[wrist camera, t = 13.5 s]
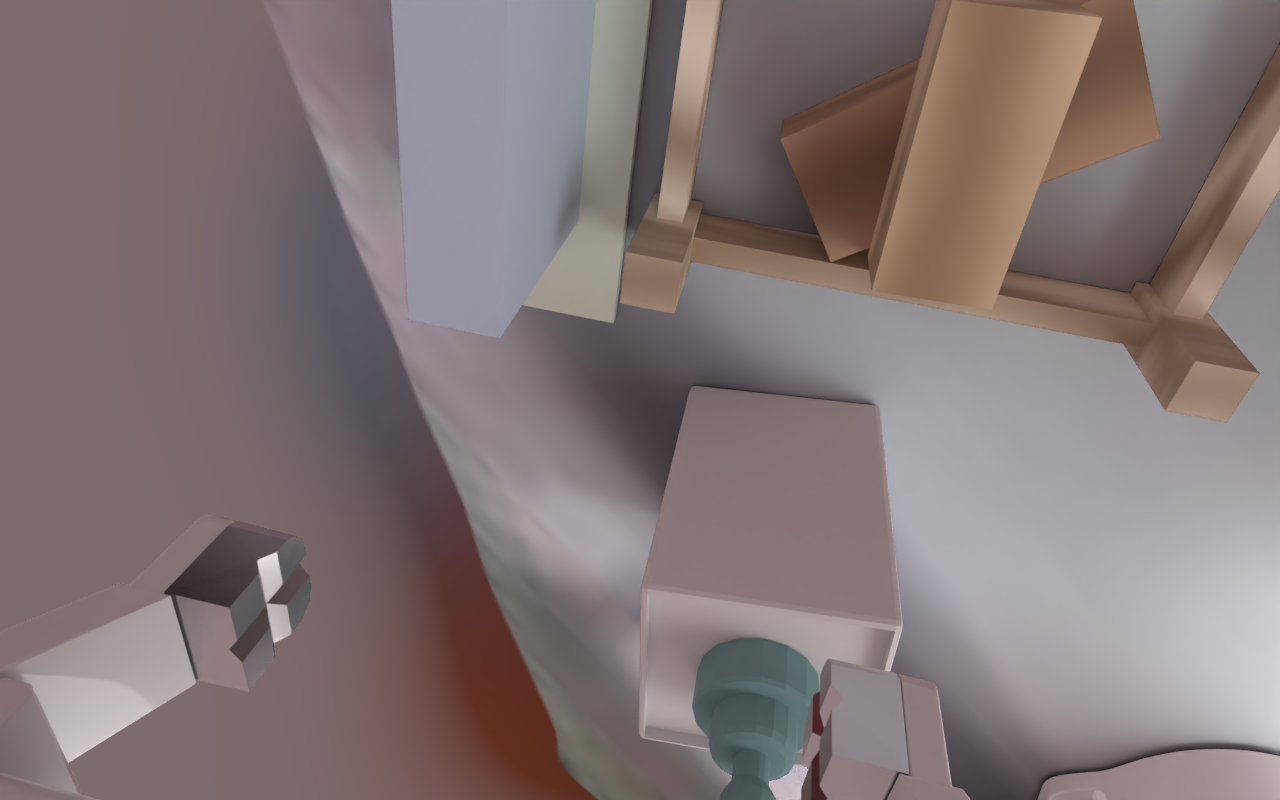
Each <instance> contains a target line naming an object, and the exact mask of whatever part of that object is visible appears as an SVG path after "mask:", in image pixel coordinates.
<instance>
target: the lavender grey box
mask: <svg viewBox="0 0 1280 800" xmlns="http://www.w3.org/2000/svg"><path fill="white" fill-rule="evenodd" d="M595 7H596V0H391V10H392V28H393V47H394V65H395V84H396V103H397V121H398V140H399V159H400V177H401V196H402V215H403V233H404V252H405V270H406V289H407V308H408V320H410V321H415V322H420V323H425V324H430V325H435V326H440V327H445V328H450V329H455V330H459V331H464V332H469V333H474V334H479V335H484V336H489V337H494V338H499V339H500V337H501V336H502V334H503V333H504V331H505V330H506V328H507V327H508V325H509V324H510V322H511V321H512V319H513V318H514V317H515V315H516V314H517V312H518V311H519V309H520V308H521V306H522V305H523V303H524V302H525V300H526V299H527V297H528V296H529V294H530V293H531V291H532V290H533V288H534V287H535V285H536V284H537V282H538V281H539V279H540V278H541V276H542V275H543V273H544V272H545V270H546V269H547V267H548V266H549V264H550V263H551V261H552V260H553V258H554V257H555V255H556V254H557V252H558V251H559V249H560V248H561V246H562V245H563V243H564V242H565V240H566V239H567V237H568V236H569V234H570V233H571V231H572V230H573V228H574V227H575V225H576V224H577V222H578V220H579V208H580V195H581V183H582V170H583V158H584V145H585V133H586V120H587V108H588V95H589V82H590V70H591V57H592V45H593V32H594V20H595Z"/></svg>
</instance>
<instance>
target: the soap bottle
mask: <svg viewBox="0 0 1280 800" xmlns="http://www.w3.org/2000/svg"><path fill="white" fill-rule="evenodd" d="M902 628H903V621H902V612H901V602H900V593H899V584H898V574H897V565H896V556H895V546H894V537H893V527H892V518H891V509H890V499H889V490H888V481H887V471H886V462H885V453H884V443H883V434H882V424H881V415H880V409H879V407H877V406H875V405H867V404H858V403H849V402H840V401H831V400H821V399H812V398H803V397H794V396H785V395H776V394H767V393H757V392H748V391H739V390H730V389H721V388H712V387H703V386H692V387H691V389H690V391H689V395H688V399H687V403H686V407H685V411H684V415H683V419H682V423H681V427H680V431H679V435H678V439H677V444H676V448H675V452H674V456H673V460H672V464H671V468H670V472H669V476H668V480H667V484H666V488H665V492H664V496H663V500H662V504H661V508H660V512H659V516H658V521H657V525H656V529H655V533H654V537H653V541H652V545H651V549H650V553H649V557H648V561H647V565H646V569H645V573H644V577H643V581H642V585H641V615H640V679H639V734H640V736H641V737H642V738H644V739H650V740H655V741H661V742H667V743H673V744H678V745H684V746H690V747H695V748H701V749H707V750H710V751H711V755H712V758H713V760H714V761H715V763H716V764H717V765H718V766H719V767H720V768H721V769H722V770H724V771H725V772H727V773H729V774H731V775H732V780H731V782H730V783H729V784H728V785H727V786H726V787H725V788H724V790H723V792H722V793H721V797H720V800H776V798H775V797H774V795H773V793H772V791H771V790H770V788H769V786H768V785H769V781H771V780H776V779H779V778H781V777H783V776H785V775H786V774H788V773H789V772H790V770H791V768H792V767H793V765H798V766H803V767H807V766H806V765H805V763H804V761H803V760H802V757H803V739H804V728H805V723H806V718H807V714H808V709H809V706H810V703H811V700H812V697H813V694H815V693H817V692H819V691H820V674H821V672H822V669H823V666H824V664H825V662H826V661H827V659H828V658H829V659H834V660H839V661H843V662H848V663H852V664H857V665H861V666H866V667H870V668H875V669H880V670H884V671H889V672H890V670H891V666H892V663H893V660H894V656H895V653H896V649H897V646H898V642H899V639H900V635H901V632H902Z"/></svg>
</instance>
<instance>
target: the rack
mask: <svg viewBox="0 0 1280 800" xmlns="http://www.w3.org/2000/svg"><path fill="white" fill-rule="evenodd" d="M723 2H724V0H687V4H686V11H685V18H684V26H683V33H682V40H681V47H680V54H679V62H678V69H677V76H676V83H675V90H674V98H673V105H672V112H671V119H670V126H669V134H668V141H667V148H666V155H665V162H664V170H663V177H662V184H661V191H660V194H658V193H655V194H654V196H653V198H652V200H651V202H650V204H649V206H648V208H647V210H646V212H645V214H644V216H643V218H642V220H641V222H640V224H639V226H638V228H637V230H636V232H635V234H634V236H633V238H632V240H631V242H630V245H629V247H628V249H627V251H626V254H625V263H624V271H623V279H622V288H621V296H620V303H621V304H627V305H632V306H637V307H642V308H647V309H652V310H657V311H662V312H667V313H672V314H674V313H675V310H676V307H677V304H678V301H679V298H680V295H681V291H682V288H683V285H684V282H685V279H686V276H687V273H688V270H689V267H690V263H691V261H692V262H697V263H702V264H707V265H713V266H718V267H723V268H728V269H734V270H739V271H744V272H749V273H755V274H760V275H765V276H770V277H775V278H781V279H786V280H791V281H796V282H802V283H807V284H812V285H817V286H823V287H828V288H833V289H838V290H843V291H849V292H854V293H859V294H864V295H870V296H875V297H880V298H885V299H891V300H896V301H901V302H906V303H912V304H917V305H922V306H927V307H932V308H938V309H943V310H948V311H953V312H959V313H964V314H969V315H974V316H980V317H985V318H990V319H995V320H1000V321H1006V322H1011V323H1016V324H1021V325H1027V326H1032V327H1037V328H1042V329H1048V330H1053V331H1058V332H1063V333H1068V334H1074V335H1079V336H1084V337H1089V338H1095V339H1100V340H1105V341H1110V342H1116V343H1121V344H1124V345H1125V347H1126V348H1127V350H1128V352H1129V353H1130V355H1131V356H1132V358H1133V360H1134V361H1135V363H1136V365H1137V366H1138V368H1139V369H1140V371H1141V373H1142V374H1143V376H1144V377H1145V379H1146V381H1147V382H1148V384H1149V385H1150V387H1151V389H1152V390H1153V392H1154V393H1155V395H1156V397H1157V398H1158V400H1159V401H1160V403H1161V405H1162V406H1163V408H1164V409H1165V411H1170V412H1175V413H1180V414H1185V415H1190V416H1195V417H1200V418H1205V419H1210V420H1215V421H1220V422H1227V421H1228V420H1229V418H1230V417H1231V415H1232V414H1233V412H1234V411H1235V409H1236V408H1237V406H1238V405H1239V403H1240V402H1241V400H1242V399H1243V397H1244V396H1245V394H1246V393H1247V391H1248V390H1249V388H1250V387H1251V385H1252V384H1253V383H1254V381H1255V380H1256V378H1257V377H1258V375H1259V374H1260V373H1259V372H1258V371H1257V370H1256V369H1255V367H1254V366H1253V365H1252V364H1251V363H1250V362H1249V360H1248V359H1247V358H1246V357H1245V356H1244V354H1243V353H1242V352H1241V351H1240V350H1239V349H1238V347H1237V346H1236V345H1235V344H1234V343H1233V342H1232V340H1231V339H1230V338H1229V337H1228V336H1227V335H1226V333H1225V332H1224V331H1223V330H1222V329H1221V327H1220V326H1219V325H1218V324H1217V323H1216V322H1215V320H1214V319H1213V318H1212V317H1211V316H1210V315H1209V313H1208V312H1207V310H1208V308H1209V307H1210V305H1211V303H1212V302H1213V300H1214V298H1215V297H1216V295H1217V293H1218V292H1219V290H1220V288H1221V287H1222V285H1223V283H1224V282H1225V280H1226V278H1227V277H1228V275H1229V273H1230V272H1231V270H1232V268H1233V267H1234V265H1235V263H1236V262H1237V260H1238V258H1239V257H1240V255H1241V253H1242V252H1243V250H1244V248H1245V247H1246V245H1247V243H1248V242H1249V240H1250V238H1251V237H1252V235H1253V233H1254V231H1255V230H1256V228H1257V226H1258V225H1259V223H1260V221H1261V220H1262V218H1263V216H1264V215H1265V213H1266V211H1267V210H1268V208H1269V206H1270V205H1271V203H1272V201H1273V200H1274V198H1275V196H1276V195H1277V193H1278V191H1279V190H1280V44H1279V46H1278V48H1277V50H1276V51H1275V53H1274V55H1273V57H1272V59H1271V61H1270V63H1269V64H1268V66H1267V68H1266V70H1265V72H1264V74H1263V76H1262V77H1261V79H1260V81H1259V83H1258V85H1257V87H1256V89H1255V90H1254V92H1253V94H1252V96H1251V98H1250V100H1249V101H1248V103H1247V105H1246V107H1245V109H1244V111H1243V113H1242V114H1241V116H1240V118H1239V120H1238V122H1237V124H1236V126H1235V127H1234V129H1233V131H1232V133H1231V135H1230V137H1229V139H1228V140H1227V142H1226V144H1225V146H1224V148H1223V150H1222V152H1221V153H1220V155H1219V157H1218V159H1217V161H1216V163H1215V164H1214V166H1213V168H1212V170H1211V172H1210V174H1209V176H1208V177H1207V179H1206V181H1205V183H1204V185H1203V187H1202V189H1201V190H1200V192H1199V194H1198V196H1197V198H1196V200H1195V202H1194V203H1193V205H1192V207H1191V209H1190V211H1189V213H1188V215H1187V216H1186V218H1185V220H1184V222H1183V224H1182V226H1181V227H1180V229H1179V231H1178V233H1177V235H1176V237H1175V239H1174V240H1173V242H1172V244H1171V246H1170V248H1169V250H1168V252H1167V253H1166V255H1165V257H1164V259H1163V261H1162V263H1161V265H1160V266H1159V268H1158V270H1157V272H1156V274H1155V276H1154V278H1153V279H1152V281H1151V283H1150V284H1146V283H1140V282H1136V284H1135V286H1134V288H1133V289H1132V291H1131V293H1126V292H1121V291H1115V290H1110V289H1104V288H1099V287H1094V286H1088V285H1083V284H1078V283H1072V282H1067V281H1061V280H1056V279H1051V278H1045V277H1040V276H1034V275H1029V274H1024V273H1018V272H1013V271H1008V270H1007V272H1006V275H1005V277H1004V280H1003V282H1002V285H1001V288H1000V290H999V293H998V296H997V298H996V301H995V304H994V306H993V309H992V310H988V309H982V308H976V307H969V306H963V305H957V304H951V303H944V302H938V301H932V300H926V299H919V298H913V297H907V296H900V295H894V294H888V293H882V292H875V291H872V290H871V281H870V271H869V262H868V253H869V249H870V248H867V249H865V250H862V251H859V252H857V253H854V254H851V255H849V256H846V257H843V258H841V259H838V260H835V261H833V262H831V261H830V259H829V256H828V254H827V252H826V249H825V247H824V244H823V242H822V240H821V237H820V236H819V235H814V234H808V233H803V232H798V231H792V230H787V229H782V228H776V227H771V226H765V225H760V224H755V223H749V222H744V221H738V220H733V219H728V218H722V217H717V216H712V215H706V214H701V213H702V208H703V202H701V201H696V200H691V199H692V192H693V186H694V180H695V174H696V168H697V162H698V156H699V150H700V143H701V137H702V131H703V125H704V119H705V113H706V107H707V100H708V94H709V88H710V82H711V76H712V70H713V64H714V57H715V51H716V45H717V39H718V33H719V27H720V21H721V14H722V8H723Z"/></svg>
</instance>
